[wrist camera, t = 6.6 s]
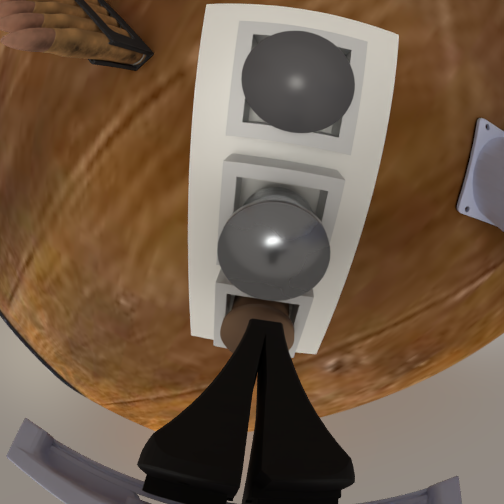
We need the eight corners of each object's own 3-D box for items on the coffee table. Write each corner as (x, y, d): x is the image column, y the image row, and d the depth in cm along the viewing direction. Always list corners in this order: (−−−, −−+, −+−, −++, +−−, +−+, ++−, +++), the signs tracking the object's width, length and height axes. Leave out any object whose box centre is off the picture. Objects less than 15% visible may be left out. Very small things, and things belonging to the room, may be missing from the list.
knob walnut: (300, 283, 20) (302, 317, 17) (287, 330, 23) (286, 364, 20) (231, 272, 20) (221, 305, 17) (227, 321, 23) (219, 354, 20)
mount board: (392, 38, 12) (414, 26, 8) (315, 344, 25) (317, 374, 22) (211, 9, 12) (194, -10, 9) (194, 326, 26) (183, 354, 23)
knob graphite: (344, 56, 12) (360, 43, 9) (332, 135, 15) (345, 143, 11) (255, 42, 12) (248, 25, 9) (246, 121, 15) (235, 125, 12)
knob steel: (330, 188, 14) (342, 213, 11) (310, 268, 17) (315, 307, 14) (235, 173, 14) (220, 194, 11) (228, 255, 17) (215, 292, 14)
